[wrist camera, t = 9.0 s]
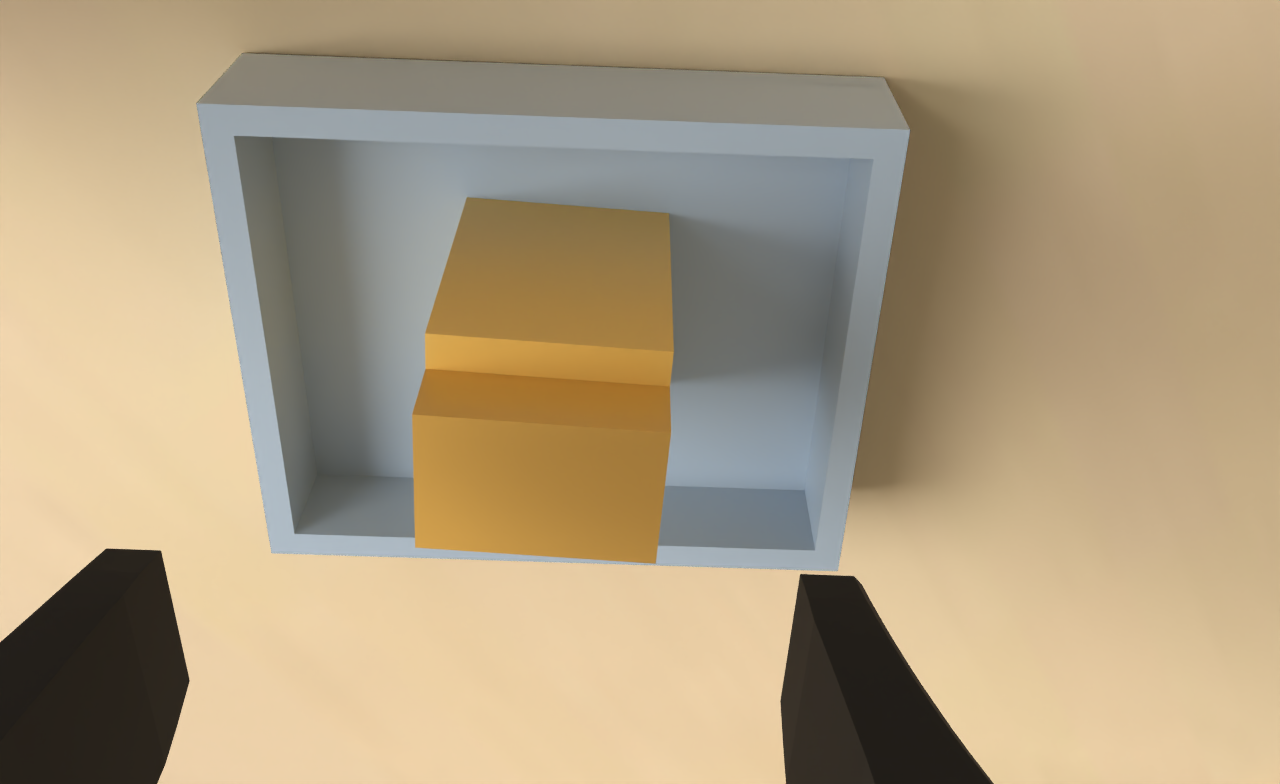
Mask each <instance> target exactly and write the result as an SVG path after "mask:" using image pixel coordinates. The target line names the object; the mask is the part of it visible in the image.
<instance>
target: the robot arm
mask: <svg viewBox="0 0 1280 784" xmlns="http://www.w3.org/2000/svg"><path fill="white" fill-rule="evenodd" d="M188 684H189V676H188V671H187V667H186V662H185V658H184V653H183V649H182V644H181V640H180V635H179V631H178V626H177V622H176V617H175V612H174V608H173V603H172V599H171V594H170V590H169V585H168V581H167V576H166V572H165V567H164V562H163V558H162V553H161V551H157V550H130V549H105V550H104V551H103V552H102V553H101V554H100V555H98V556H97V557H96V558H95V559H94V560H93V561H92V562H90V563H89V564H88V565H87V566H86V567H85V568H84V569H82V570H81V571H80V572H79V573H78V574H77V575H76V576H74V577H73V578H72V579H71V580H70V581H69V582H68V583H67V584H65V585H64V586H63V587H62V588H61V589H60V590H59V591H58V592H56V593H55V594H54V595H53V596H52V597H51V598H50V599H49V600H47V601H46V602H45V603H44V604H43V605H42V606H41V607H40V608H39V609H37V610H36V611H35V612H34V613H33V614H32V615H31V616H30V617H28V618H27V619H26V620H25V621H24V622H23V623H22V624H21V625H19V626H18V627H17V628H16V629H15V630H14V631H13V632H12V633H10V634H9V635H8V636H7V637H6V638H5V639H4V640H2V641H1V642H0V784H157V783H158V780H159V778H160V775H161V773H162V771H163V768H164V766H165V763H166V760H167V757H168V754H169V750H170V747H171V744H172V740H173V737H174V734H175V731H176V727H177V724H178V720H179V717H180V713H181V709H182V706H183V702H184V699H185V695H186V691H187V688H188ZM781 716H782V732H783V748H784V761H785V774H786V784H994V783H993V782H992V781H991V780H990V778H989V777H988V776H987V774H986V773H985V772H984V771H983V769H982V768H981V767H980V765H979V764H978V763H977V762H976V760H975V759H974V758H973V756H972V755H971V754H970V753H969V751H968V750H967V749H966V747H965V746H964V744H963V743H962V742H961V740H960V739H959V738H958V736H957V735H956V734H955V732H954V731H953V730H952V728H951V727H950V725H949V724H948V722H947V721H946V719H945V718H944V717H943V715H942V714H941V712H940V711H939V709H938V708H937V706H936V705H935V704H934V702H933V701H932V699H931V698H930V696H929V695H928V693H927V692H926V690H925V689H924V688H923V686H922V685H921V683H920V682H919V680H918V678H917V677H916V675H915V674H914V672H913V671H912V669H911V668H910V666H909V665H908V663H907V661H906V660H905V658H904V657H903V655H902V653H901V652H900V650H899V648H898V647H897V645H896V644H895V642H894V640H893V639H892V637H891V635H890V634H889V632H888V630H887V629H886V627H885V625H884V624H883V622H882V620H881V618H880V617H879V615H878V613H877V611H876V610H875V608H874V606H873V604H872V602H871V601H870V599H869V597H868V595H867V593H866V592H865V590H864V588H863V586H862V584H861V583H860V582H859V581H858V580H857V579H856V578H855V577H854V576H834V575H807V574H800V579H799V586H798V592H797V599H796V605H795V612H794V618H793V624H792V631H791V637H790V644H789V650H788V657H787V663H786V669H785V676H784V682H783V689H782V695H781Z"/></svg>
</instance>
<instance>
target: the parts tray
mask: <svg viewBox="0 0 1280 784" xmlns="http://www.w3.org/2000/svg"><path fill="white" fill-rule="evenodd" d="M196 104H197V110H198V116H199V122H200V128H201V134H202V140H203V146H204V152H205V158H206V164H207V170H208V176H209V182H210V188H211V194H212V200H213V206H214V212H215V218H216V224H217V230H218V236H219V242H220V248H221V254H222V260H223V266H224V272H225V278H226V284H227V290H228V296H229V301H230V307H231V313H232V319H233V325H234V331H235V337H236V343H237V349H238V355H239V361H240V367H241V373H242V379H243V385H244V391H245V397H246V403H247V409H248V415H249V421H250V427H251V433H252V439H253V445H254V451H255V457H256V463H257V469H258V475H259V481H260V487H261V493H262V499H263V505H264V511H265V517H266V523H267V529H268V535H269V541H270V547H271V553H282V554H314V555H345V556H377V557H408V558H440V559H471V560H503V561H534V562H566V563H597V564H629V565H660V566H692V567H723V568H755V569H786V570H817V571H838V567H839V560H840V554H841V548H842V542H843V536H844V530H845V524H846V518H847V512H848V506H849V500H850V494H851V487H852V481H853V475H854V469H855V463H856V457H857V451H858V445H859V439H860V433H861V427H862V421H863V414H864V408H865V402H866V396H867V390H868V384H869V378H870V372H871V366H872V360H873V354H874V348H875V341H876V335H877V329H878V323H879V317H880V311H881V305H882V299H883V293H884V287H885V281H886V275H887V268H888V262H889V256H890V250H891V244H892V238H893V232H894V226H895V220H896V214H897V208H898V202H899V195H900V189H901V183H902V177H903V171H904V165H905V159H906V153H907V147H908V141H909V135H910V128H909V126H908V124H907V122H906V120H905V118H904V116H903V114H902V112H901V110H900V108H899V106H898V104H897V102H896V100H895V98H894V96H893V94H892V92H891V90H890V88H889V86H888V84H887V82H886V80H885V78H884V77H862V76H835V75H809V74H782V73H756V72H729V71H703V70H676V69H650V68H623V67H597V66H570V65H544V64H517V63H491V62H464V61H438V60H411V59H385V58H358V57H332V56H305V55H279V54H253V53H242V54H241V55H240V56H239V57H238V58H237V59H236V60H235V62H234V63H233V64H232V65H231V66H230V67H229V68H228V69H227V70H226V71H225V73H224V74H223V75H222V76H221V77H220V78H219V79H218V80H217V81H216V82H215V84H214V85H213V86H212V87H211V88H210V89H209V90H208V91H207V92H206V93H205V94H204V96H203V97H202V98H201V99H200V100H199V101H198V102H197V103H196ZM467 197H470V198H483V199H496V200H508V201H521V202H534V203H546V204H559V205H572V206H585V207H597V208H610V209H623V210H635V211H648V212H661V213H669V222H670V251H671V281H672V311H673V340H674V355H673V364H672V373H671V382H670V408H671V439H670V447H669V456H668V464H667V473H666V481H665V490H664V498H663V507H662V515H661V524H660V532H659V541H658V549H657V558H656V564H651V563H637V562H622V561H607V560H592V559H577V558H562V557H547V556H532V555H517V554H502V553H488V552H473V551H458V550H443V549H428V548H415V520H414V477H413V434H412V413H413V410H414V406H415V403H416V399H417V396H418V393H419V389H420V386H421V382H422V379H423V375H424V372H425V332H426V328H427V325H428V322H429V319H430V315H431V312H432V309H433V306H434V302H435V299H436V296H437V293H438V289H439V286H440V283H441V280H442V276H443V273H444V270H445V267H446V263H447V260H448V257H449V254H450V250H451V247H452V244H453V241H454V237H455V234H456V231H457V228H458V224H459V221H460V218H461V215H462V211H463V208H464V205H465V202H466V198H467Z"/></svg>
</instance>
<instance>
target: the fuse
mask: <svg viewBox="0 0 1280 784" xmlns="http://www.w3.org/2000/svg"><path fill="white" fill-rule="evenodd" d="M673 355H674V340H673V311H672V281H671V251H670V222H669V213H661V212H648V211H635V210H623V209H610V208H597V207H585V206H572V205H559V204H546V203H534V202H521V201H508V200H496V199H483V198H470V197H467V198H466V202H465V205H464V208H463V211H462V215H461V218H460V221H459V224H458V228H457V231H456V234H455V237H454V241H453V244H452V247H451V250H450V254H449V257H448V260H447V263H446V267H445V270H444V273H443V276H442V280H441V283H440V286H439V289H438V293H437V296H436V299H435V302H434V306H433V309H432V312H431V315H430V319H429V322H428V325H427V328H426V332H425V372H424V375H423V379H422V382H421V386H420V389H419V393H418V396H417V399H416V403H415V406H414V410H413V413H412V434H413V477H414V520H415V548H428V549H443V550H458V551H473V552H488V553H502V554H517V555H532V556H547V557H562V558H577V559H592V560H607V561H622V562H637V563H651V564H656V558H657V549H658V541H659V532H660V524H661V515H662V507H663V498H664V490H665V481H666V473H667V464H668V456H669V447H670V439H671V408H670V382H671V373H672V364H673Z"/></svg>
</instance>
